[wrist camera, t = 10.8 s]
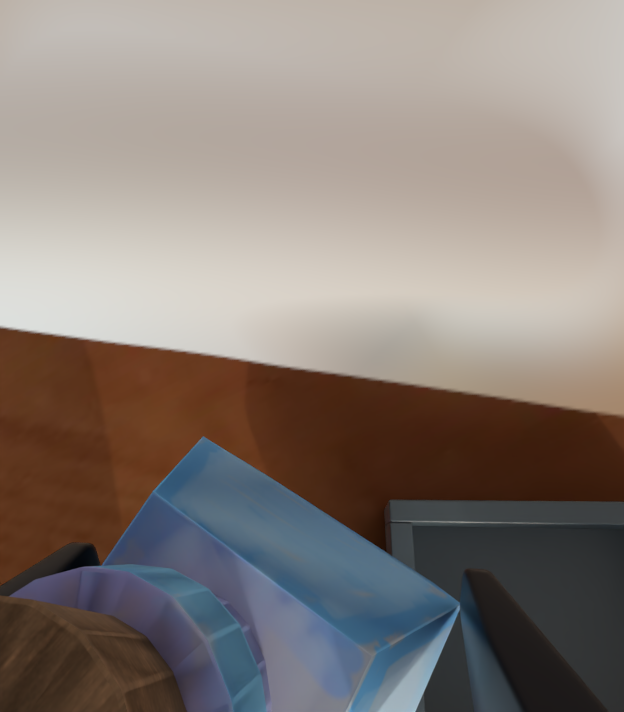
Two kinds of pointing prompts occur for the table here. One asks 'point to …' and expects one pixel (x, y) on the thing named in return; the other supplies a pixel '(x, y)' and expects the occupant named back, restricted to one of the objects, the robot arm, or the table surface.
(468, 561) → the open square box
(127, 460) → the table surface
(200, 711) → the perfume bottle
